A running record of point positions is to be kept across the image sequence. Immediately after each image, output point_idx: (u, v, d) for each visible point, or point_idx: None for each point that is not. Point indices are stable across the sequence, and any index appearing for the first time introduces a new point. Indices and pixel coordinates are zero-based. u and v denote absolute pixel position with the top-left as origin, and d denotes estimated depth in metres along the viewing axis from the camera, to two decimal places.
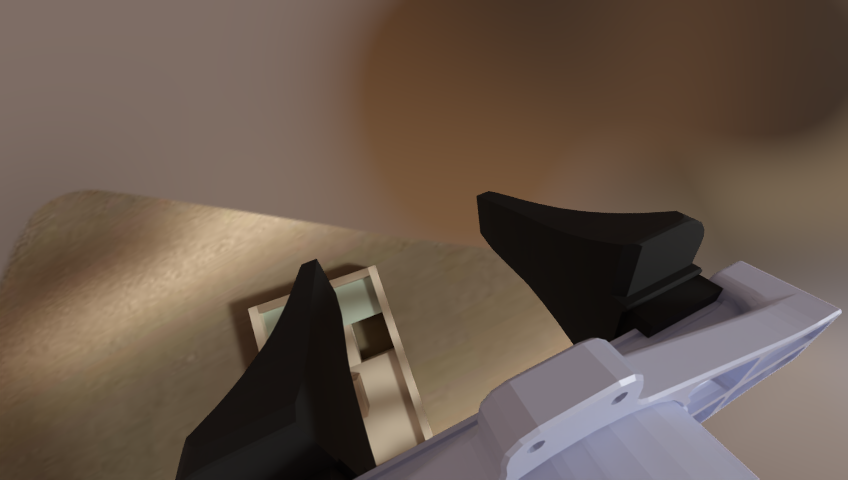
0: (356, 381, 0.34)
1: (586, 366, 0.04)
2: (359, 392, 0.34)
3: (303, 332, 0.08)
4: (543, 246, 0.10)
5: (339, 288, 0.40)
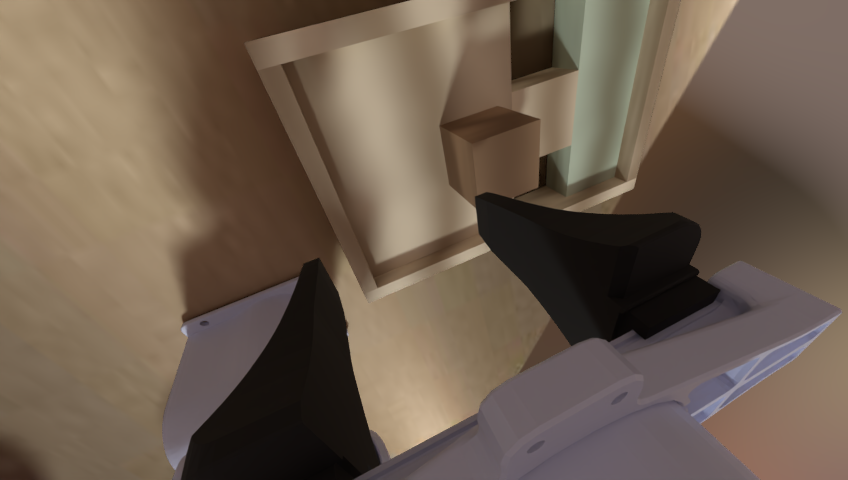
0: (535, 186, 0.18)
1: (586, 366, 0.04)
2: (518, 193, 0.18)
3: (306, 330, 0.08)
4: (541, 247, 0.10)
5: (622, 128, 0.23)
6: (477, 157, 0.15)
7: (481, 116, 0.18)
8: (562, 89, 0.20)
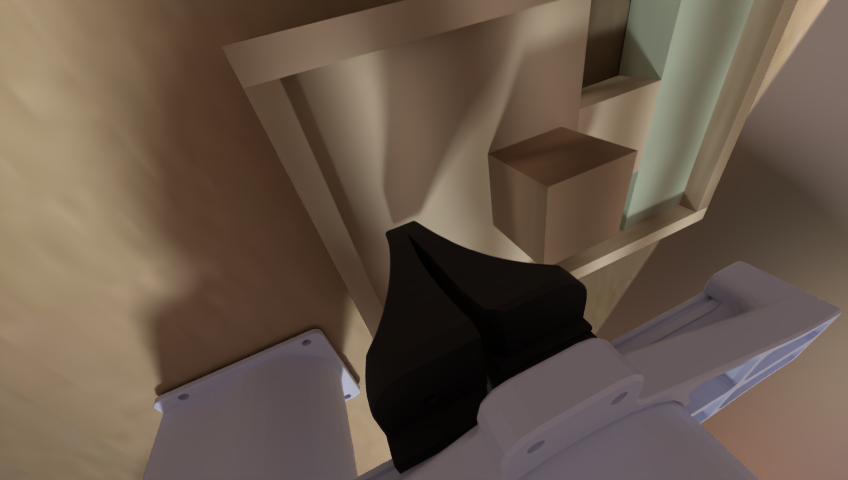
0: (614, 233, 0.14)
1: (586, 366, 0.04)
2: (593, 243, 0.13)
3: (424, 279, 0.09)
4: (446, 289, 0.09)
5: (697, 148, 0.19)
6: (551, 204, 0.11)
7: (544, 141, 0.13)
8: (639, 104, 0.15)
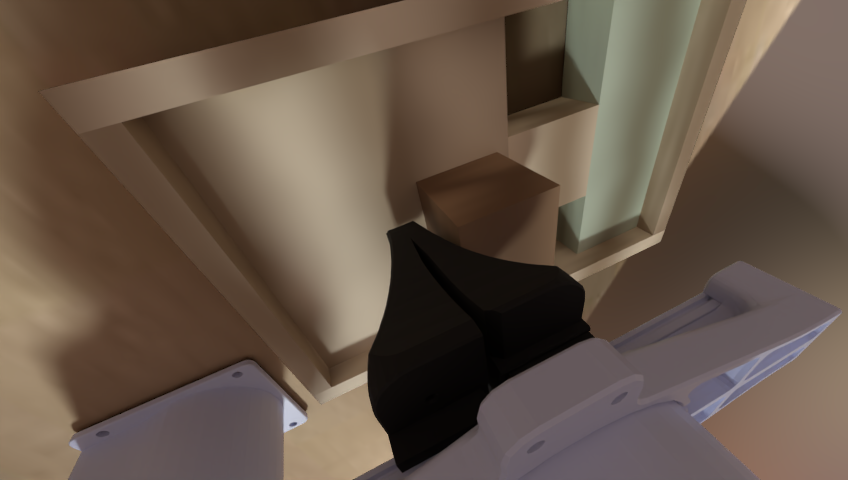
0: None
1: (586, 366, 0.04)
2: None
3: (425, 279, 0.09)
4: (445, 290, 0.09)
5: (649, 171, 0.18)
6: (467, 243, 0.10)
7: (474, 169, 0.13)
8: (577, 129, 0.15)
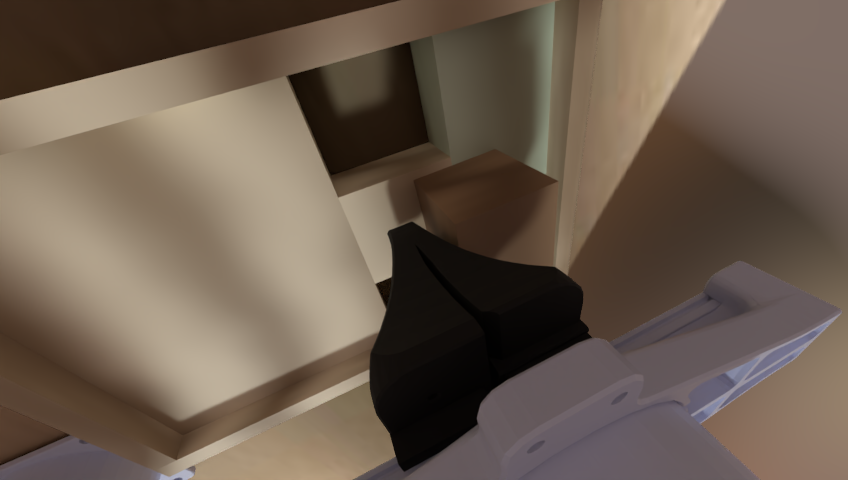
0: (549, 264, 0.13)
1: (586, 366, 0.04)
2: None
3: (427, 278, 0.09)
4: None
5: None
6: (464, 241, 0.10)
7: (472, 167, 0.13)
8: None
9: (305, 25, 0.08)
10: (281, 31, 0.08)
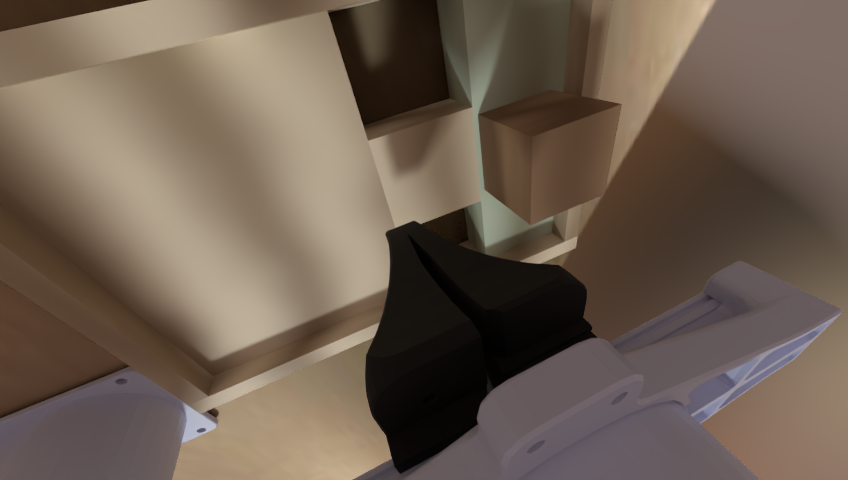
0: (601, 193, 0.14)
1: (586, 366, 0.04)
2: (580, 201, 0.14)
3: (424, 279, 0.09)
4: (446, 289, 0.09)
5: None
6: (537, 155, 0.11)
7: (533, 102, 0.14)
8: (452, 133, 0.14)
9: None
10: None
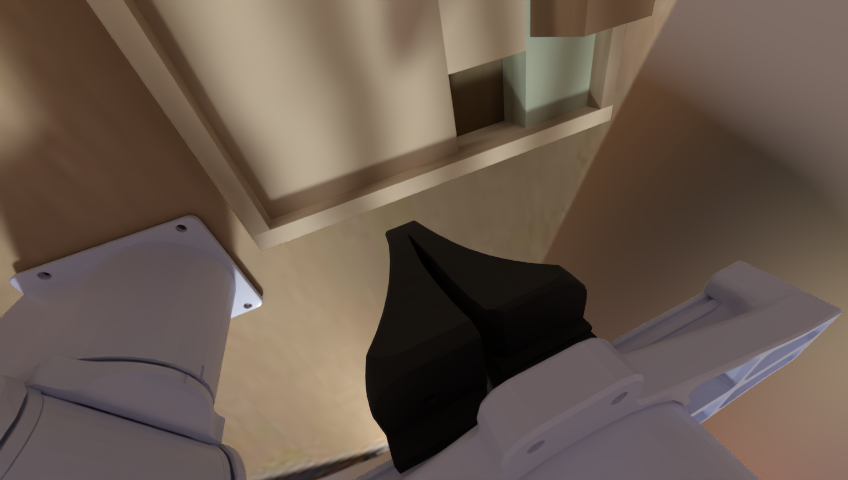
0: (648, 13, 0.15)
1: (586, 366, 0.04)
2: (629, 19, 0.14)
3: (424, 279, 0.09)
4: (446, 289, 0.09)
5: (592, 34, 0.18)
6: None
7: None
8: None
9: None
10: None
